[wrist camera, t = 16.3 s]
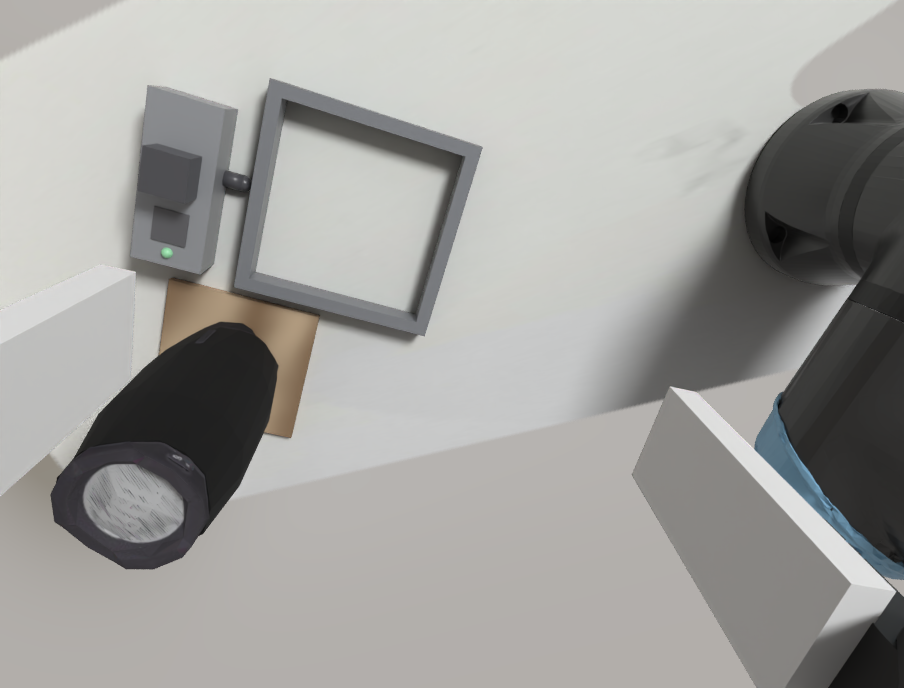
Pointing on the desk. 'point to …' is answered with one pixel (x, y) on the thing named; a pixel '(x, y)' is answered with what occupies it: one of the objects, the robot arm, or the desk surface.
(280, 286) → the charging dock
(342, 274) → the desk surface
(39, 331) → the robot arm
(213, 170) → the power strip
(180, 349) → the portable speaker
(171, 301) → the cork mat
